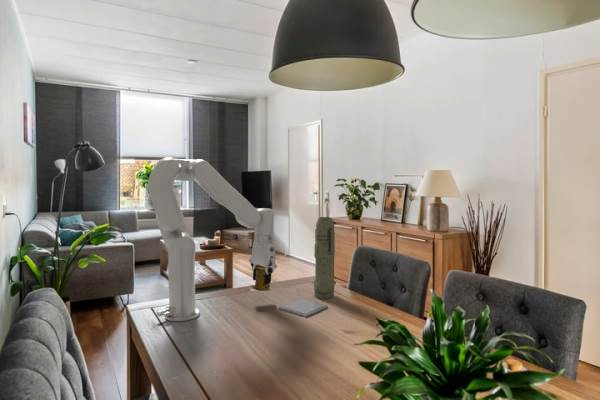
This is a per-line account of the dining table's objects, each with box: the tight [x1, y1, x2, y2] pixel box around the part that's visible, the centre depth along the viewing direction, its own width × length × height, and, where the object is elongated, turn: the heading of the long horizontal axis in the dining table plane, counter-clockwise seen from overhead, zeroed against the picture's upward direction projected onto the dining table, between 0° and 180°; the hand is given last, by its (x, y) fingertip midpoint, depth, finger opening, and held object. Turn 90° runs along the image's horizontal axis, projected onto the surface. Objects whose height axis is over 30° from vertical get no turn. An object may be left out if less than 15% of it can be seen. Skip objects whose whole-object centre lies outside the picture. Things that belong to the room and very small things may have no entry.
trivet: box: [278, 298, 329, 318], centre depth 154 cm, size 14×14×1 cm
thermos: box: [313, 216, 336, 300], centre depth 169 cm, size 9×12×35 cm
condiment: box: [248, 264, 273, 292], centre depth 159 cm, size 7×8×12 cm
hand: (261, 281), depth 159 cm, fingers closed on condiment, 6 cm apart
